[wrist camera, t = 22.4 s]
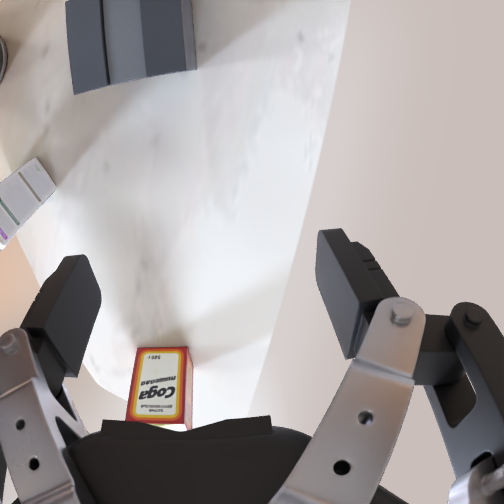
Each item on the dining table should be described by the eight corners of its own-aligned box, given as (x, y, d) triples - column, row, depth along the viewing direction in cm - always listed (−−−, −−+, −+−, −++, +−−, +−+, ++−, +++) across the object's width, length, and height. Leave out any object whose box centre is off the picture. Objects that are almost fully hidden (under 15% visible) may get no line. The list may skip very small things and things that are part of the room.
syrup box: (36, 154, 33) (-29, 202, 21) (59, 188, 36) (4, 247, 24) (13, 178, 34) (-48, 230, 22) (35, 209, 37) (-17, 270, 25)
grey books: (113, 84, 30) (72, 95, 20) (106, 15, 25) (63, 1, 15) (196, 69, 30) (186, 70, 21) (191, -3, 25) (179, -30, 16)
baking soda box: (146, 368, 57) (137, 440, 44) (137, 347, 54) (124, 424, 40) (193, 367, 58) (192, 441, 44) (187, 346, 54) (184, 426, 41)
